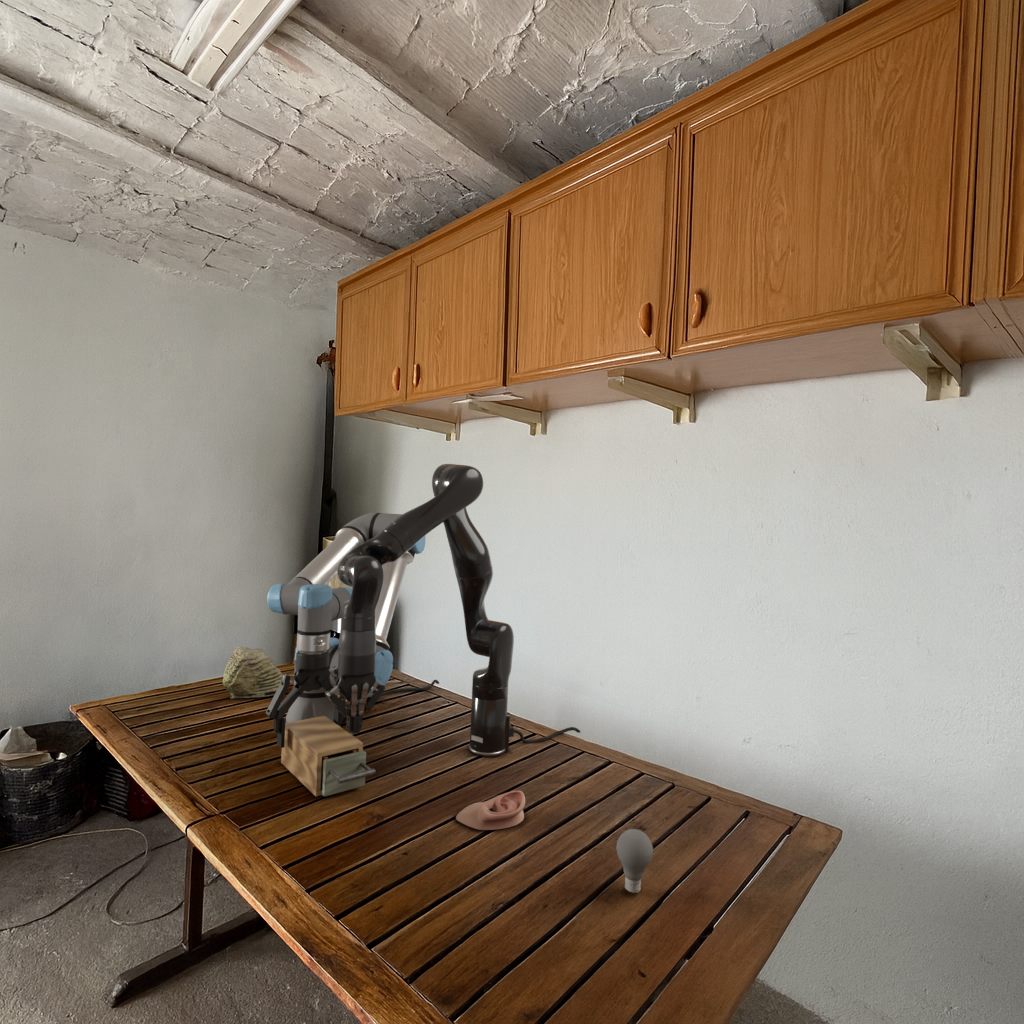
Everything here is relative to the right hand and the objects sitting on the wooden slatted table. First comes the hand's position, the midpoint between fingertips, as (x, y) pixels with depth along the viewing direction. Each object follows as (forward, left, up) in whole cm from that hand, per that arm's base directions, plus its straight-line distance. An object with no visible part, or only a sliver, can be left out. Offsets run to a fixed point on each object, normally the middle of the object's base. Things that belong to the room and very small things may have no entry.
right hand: (354, 732), depth 132 cm
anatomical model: (-25, +16, -14) cm, 33 cm away
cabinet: (+4, -16, -14) cm, 22 cm away
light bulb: (-37, +47, -14) cm, 62 cm away
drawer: (+3, -10, -13) cm, 17 cm away
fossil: (+15, -79, -14) cm, 82 cm away
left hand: (+6, -22, -9) cm, 25 cm away
